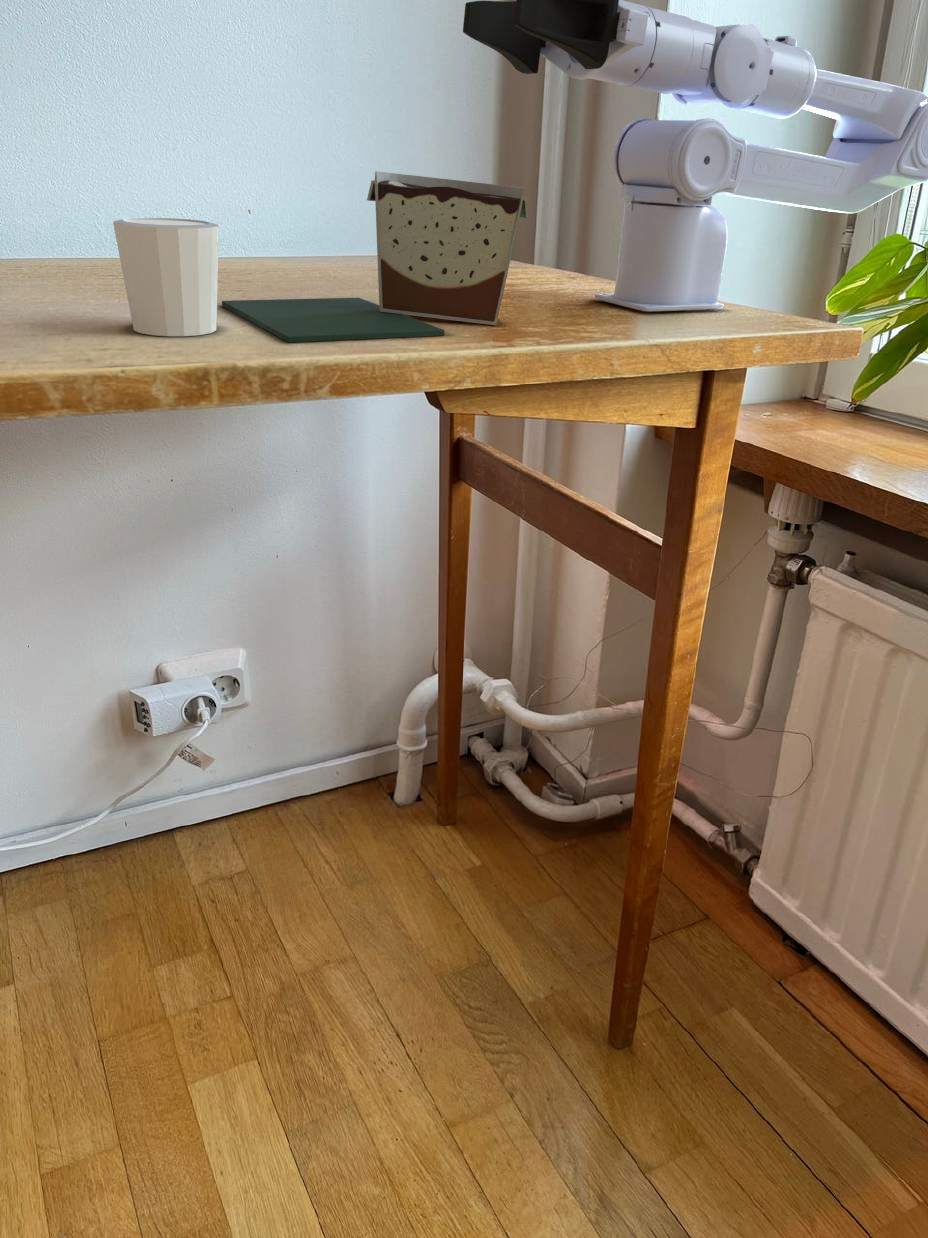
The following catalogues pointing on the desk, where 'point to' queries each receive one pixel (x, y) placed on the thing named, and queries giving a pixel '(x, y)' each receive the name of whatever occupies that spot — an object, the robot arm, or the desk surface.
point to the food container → (444, 245)
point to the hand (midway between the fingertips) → (490, 12)
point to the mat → (328, 319)
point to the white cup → (170, 274)
